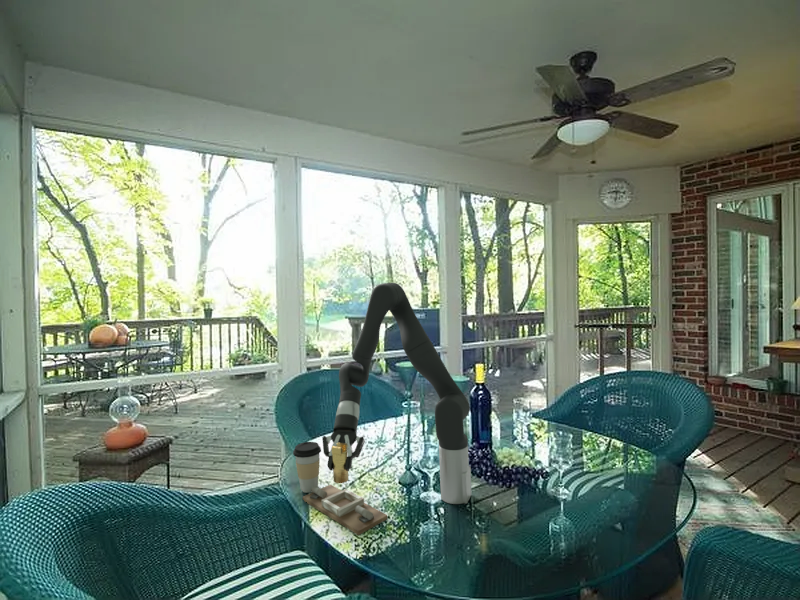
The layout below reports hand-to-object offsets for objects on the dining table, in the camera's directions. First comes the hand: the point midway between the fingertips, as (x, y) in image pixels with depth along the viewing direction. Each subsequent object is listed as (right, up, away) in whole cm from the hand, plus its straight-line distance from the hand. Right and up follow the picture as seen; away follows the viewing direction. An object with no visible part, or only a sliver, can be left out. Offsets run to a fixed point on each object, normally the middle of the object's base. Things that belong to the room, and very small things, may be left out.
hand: (338, 469), depth 138 cm
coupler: (0, -4, +2) cm, 5 cm away
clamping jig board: (+1, -13, +3) cm, 14 cm away
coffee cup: (-13, -13, +17) cm, 25 cm away
